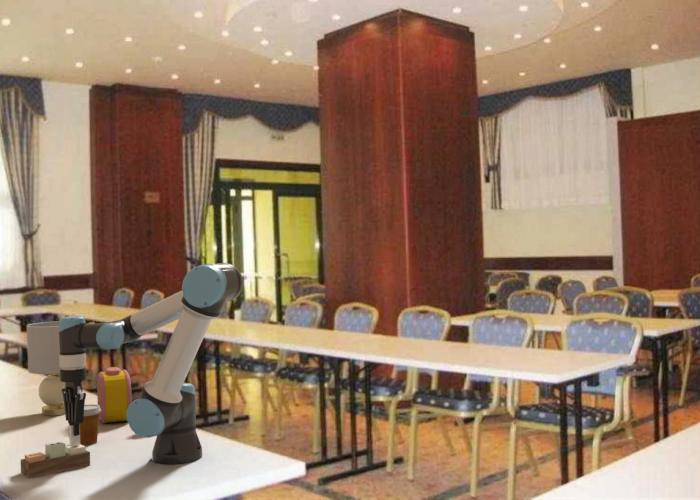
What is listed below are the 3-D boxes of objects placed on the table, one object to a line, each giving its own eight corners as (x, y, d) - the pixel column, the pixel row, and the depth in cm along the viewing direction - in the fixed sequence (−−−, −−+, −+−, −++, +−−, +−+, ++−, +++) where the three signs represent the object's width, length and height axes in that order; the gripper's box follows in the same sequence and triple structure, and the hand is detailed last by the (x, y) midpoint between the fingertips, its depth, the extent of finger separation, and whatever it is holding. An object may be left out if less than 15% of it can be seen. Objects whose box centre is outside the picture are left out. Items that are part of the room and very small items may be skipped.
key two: (65, 458, 234) (65, 443, 234) (51, 462, 231) (50, 446, 231) (60, 456, 238) (59, 440, 237) (45, 458, 235) (45, 443, 235)
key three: (45, 470, 230) (45, 454, 230) (30, 473, 227) (29, 457, 227) (40, 467, 234) (39, 451, 234) (25, 470, 231) (24, 454, 231)
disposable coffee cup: (92, 447, 259) (91, 410, 258) (66, 446, 261) (65, 409, 260) (107, 439, 268) (106, 404, 268) (81, 438, 270) (80, 403, 270)
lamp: (67, 419, 300) (64, 326, 300) (18, 418, 303) (16, 326, 303) (92, 407, 320) (90, 320, 319) (46, 407, 323) (44, 321, 323)
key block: (90, 465, 238) (89, 451, 238) (29, 478, 226) (28, 464, 226) (81, 460, 243) (80, 447, 243) (20, 472, 231) (20, 459, 231)
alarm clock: (132, 423, 290) (131, 371, 290) (101, 427, 286) (99, 373, 286) (127, 413, 308) (125, 364, 307) (97, 416, 304) (96, 366, 303)
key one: (85, 461, 238) (85, 446, 238) (71, 464, 235) (71, 449, 235) (80, 458, 242) (79, 443, 241) (65, 461, 239) (65, 446, 239)
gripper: (94, 368, 235) (95, 447, 236) (76, 363, 245) (78, 439, 246) (69, 371, 231) (71, 452, 231) (52, 366, 240) (54, 443, 241)
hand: (75, 445), depth 238 cm, fingers closed
